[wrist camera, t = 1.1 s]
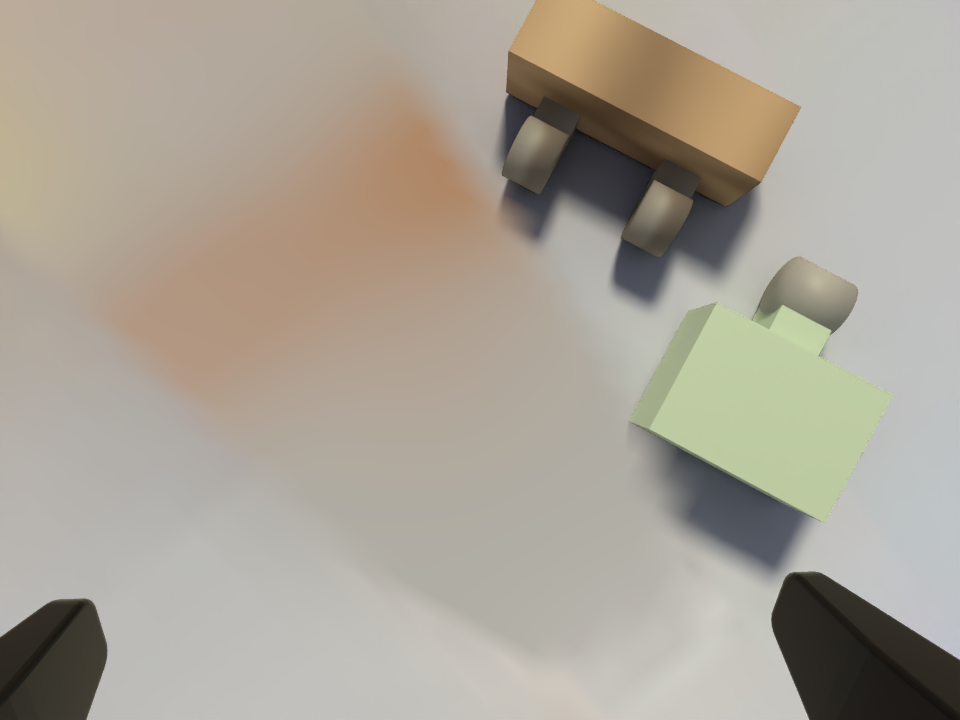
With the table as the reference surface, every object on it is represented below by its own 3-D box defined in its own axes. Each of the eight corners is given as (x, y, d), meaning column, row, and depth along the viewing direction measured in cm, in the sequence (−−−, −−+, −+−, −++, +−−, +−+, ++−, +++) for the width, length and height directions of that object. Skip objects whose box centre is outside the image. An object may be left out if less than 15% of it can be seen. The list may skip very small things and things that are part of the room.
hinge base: (761, 141, 23) (801, 106, 20) (686, 281, 23) (715, 267, 20) (541, 27, 24) (548, -24, 21) (466, 165, 24) (462, 134, 21)
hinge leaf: (881, 316, 23) (939, 308, 20) (781, 503, 23) (824, 523, 20) (728, 236, 23) (763, 215, 20) (629, 421, 23) (649, 428, 20)
